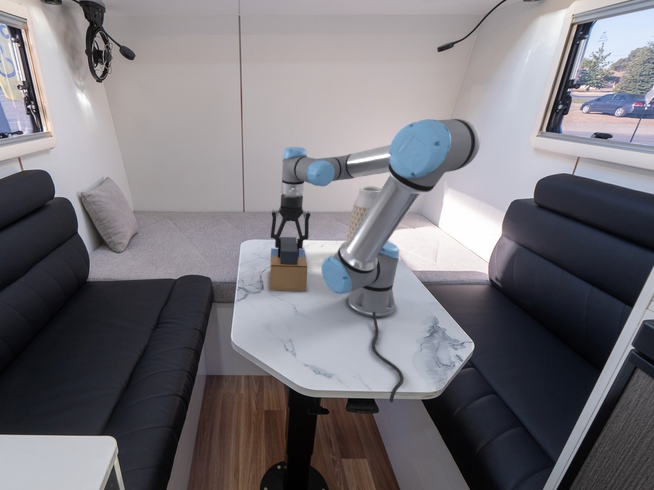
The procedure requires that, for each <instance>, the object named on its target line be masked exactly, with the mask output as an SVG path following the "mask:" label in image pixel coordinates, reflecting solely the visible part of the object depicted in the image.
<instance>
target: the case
mask: <svg viewBox="0 0 654 490" xmlns="http://www.w3.org/2000/svg"><path fill="white" fill-rule="evenodd" d="M280 238H281V246H280V264H288V265H297V264H298V247H297V237H294V236H293V237H291V236H280Z"/></svg>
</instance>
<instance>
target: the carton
mask: <svg viewBox="0 0 654 490" xmlns="http://www.w3.org/2000/svg"><path fill="white" fill-rule="evenodd" d="M269 265H270V266H269V267H270V268H269V270H270V271H269V290H270V291H290V292H291V291H292V292H306V289H307V280H308V279H307V278H308V260H307V256H306V257H299V258H298V264H297V265H288V264H280V257H278V256H271V255H270V264H269Z"/></svg>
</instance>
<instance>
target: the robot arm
mask: <svg viewBox="0 0 654 490" xmlns="http://www.w3.org/2000/svg"><path fill="white" fill-rule="evenodd" d="M480 147H481V136H480V132H479V130H478V128H477V127H476V126H475V124H472V123H471V122H470V121H468V120H465V119H461V118H449V119H432V118H431V119H429V118H427V119H422V120H418V121H413V122H410V123H408V124H407V125H404V126H403V127H402V128H401V129H400V130H399V131H398V132H397V133H396V134H395V135H394V136H393V139H392V140H391V143H390V144H387V145H383V146H380V147H375V148H370V149H366V150H363V151H359V152H355V153H349V154H345V155H340V156H331V157H322V158H320V157H319V158H313V157H309V156H308V154H307V149H306V148H305V147H300V146H289V147H286V148H284V150H283V157H282V167H281V168H282V170H281V171H282V172H281V188H280V189H281V190H280V193H281V195H280V206H279V208H278V209H276V210H275V209H272V210H271V216H272V220H271V229H270V238H271V239H274V240H275V243H274V248H275V249H278V257H280V246H281V238H280V237H281V235H282V232H283V230H284V228H285V225H286V224H287V222H294V223H295V227H296V231H297V234H298V238H296V240H297V247H298V258H299V249H303V246H304V241H305V240H309V226H310V225H309V223H310V222H309V221H310V217H311V212H310V210H308V211H307V210H304V209H303V202H304V196H303V195H304V186H305V183H308V184H311V185H313V186H315V187H327V186H329V184H331V183H332V182H336V181H343V180H344V181H345V180H352V179H356V178H361V177H369V176H374V175H380V174H386V173H387V174H389V176H388V178H387V179H386V181H385V182H384V184H383V186H382V188H381V191H380V193H379V194H378V196H377V197H376V199H375V201H374V202H373V204H372V206H371V207H370V209H369V211H368V212H367V214H366V216H365V217H364V219H363V220H362V222H361V224H360V225H359V227H358V229H357V230H356V232H355V234H354V235H353V237H352V238H351V240H350V241H347V240H346V241H344V242H343V243H341V245H340V247H339V248H338V250H337V251H336V253H335V254H334V255H332V256H331V255H330V256H328V257H327V258H325V259H324V260H323V262H322V264H321V274H322V279H323V281H324V283H325V284H326V286H327V287H328V288H329V290H330V291H332V292H333V293H335V294H338V295H345V294H348V299H347V305H348V307H349V309H351V310H352V311H353V312H355V313H357V314H359V315H362V316H365V317H370V318H373V323H374V327H375V334H374V338H373V340H372V344H371V347H372V351H373V353H374V354H375V355H376V357H377V358H379V359H380V360H381V361H382V362H384V363H385V364H387V365H388V366H390V367H391V368H393V370H395V371H396V372H397V374H398V375H399V380H398V382H397V384H396V385H394V387H393V388H392V391H391V393H390V395H389V402H390V403H393V402H394V399H395V395H396V392H397V391H398V389H400V387H401V386H402V385H403V383H404V381H405V377H404V375H403V373H402V370H400V368H399V367H398V366H396V365H395V364H394V363H393V362H391V361H389V360H388V359H386V358H385V357H383V356H382V355H381V354H380V353H379V352H378V350H377V348H376V343H377V341H378V338H379V326H378V320H377V318H385V317H388V316H390V315H392V314H393V313H394V311H395V306H396V305H395V304H396V301H395V296H394V290H393V288H394V287H393V286H394V283H395V277H396V272H397V267H398V264H399V263H398V262H399V260H400V248H399V247H398V246H397V245H396V244H394V243H393V242H390V241H389V240H390V238H391V237H392V235H393V234H394V232H395V231H396V230H397V228H398V227H399V226H400V224H401V223H402V221H403V220H404V219H405V217H406V216H407V214H408V213H409V212H410V210H411V209H412V208H413V206H414V204H416V202H417V201H418V199H419V198H420V196H421V194H423V193H429V192H431V191H432V190H434V188H435V187H436V185H437V184H438V182H439V181H440V180H441V179H442V177H443V176H444V175H445V174H446V173H449V172H454V171H458V170H460V169H463V168H465V167H466V166H468V165H469V164H470V163H472V161H473V160H474V159H475V158H476V156H477V155H478V153H479V150H480ZM279 214H280V216H281V217H282V219H281V222H280V224H279V226H278V229H277V232H276V225H277V217H278V216H279ZM302 215H303V218H304V234H303V232H302V228H301V224H300V221H299V218H300V217H301V216H302Z"/></svg>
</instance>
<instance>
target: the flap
mask: <svg viewBox="0 0 654 490" xmlns="http://www.w3.org/2000/svg"><path fill="white" fill-rule="evenodd" d="M271 256H278V248H272V247H271V248H270V257H271ZM299 257H306V258H307V256H306V250H305V249H303V248H302V249H299Z"/></svg>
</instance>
